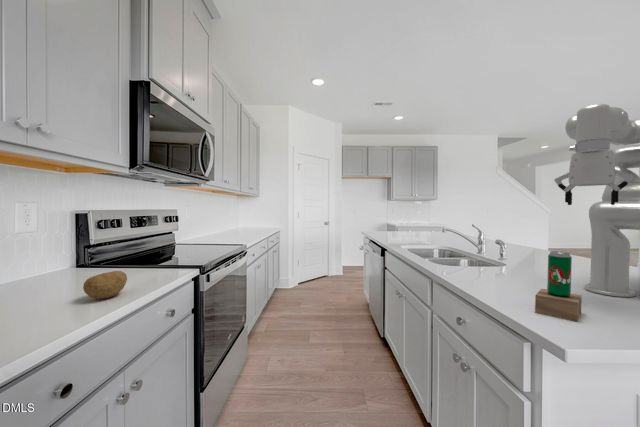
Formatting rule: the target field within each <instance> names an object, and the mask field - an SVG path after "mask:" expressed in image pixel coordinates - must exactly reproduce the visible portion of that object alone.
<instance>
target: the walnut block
mask: <svg viewBox="0 0 640 427" xmlns="http://www.w3.org/2000/svg"><path fill="white" fill-rule="evenodd" d="M582 296H583V295H582V294H576V293H571V295H570V296H569V297H558V296H553V295H551V294H549V293H548V292H547V289H546V288H541V289H540V290H539V291H537V293H536V294H535V300H534V303H535V305H534V313H535V314H540V315H546V316H549V317H554V318H558V319H564V320H568V321H572V322H579V319H580V317H581V314H582V301H583V298H582Z"/></svg>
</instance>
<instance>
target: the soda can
mask: <svg viewBox="0 0 640 427" xmlns="http://www.w3.org/2000/svg"><path fill="white" fill-rule="evenodd" d="M570 254H571V253H570V252H567V251H560V250H559V251H557V250H551V251H549V254H547V255H548V256H547V286H546V287H547V292H548V293H549V294H551V295H553V296H558V297H569V296H570V295H571V294H572V293H571V292H572V264H573V263H572V261H573V260H572V257H573V256H571V255H570Z"/></svg>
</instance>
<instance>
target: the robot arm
mask: <svg viewBox="0 0 640 427" xmlns="http://www.w3.org/2000/svg"><path fill="white" fill-rule="evenodd" d="M565 133H566V135H567V137H569V138H570V139H571V140H573V141H575V144H574V145H571V146H569V151H570V152H571V151H573V153H572V154H571V157H570V162H569V168H568V172H567V173H565V174H563V175H561V176H558V177H556V178H554V182H555V183H556V185H557V186H558V188H560V189H561V190H562V191H563V192H564V193H565V194H564V202H565V203H567V206H571V205H572V204H573V193H572V190H573V189H574V188H575V187H590V186H592V187H593V186H595V187H596V186H605V188H604V191H603V193H602V196H601V201H598V202H595V203H592V205H590V207H589V209H588V217H589V222H590V231H591V243H590V244H591V247H590V248H591V249H590V273H589V274H590V276H589V277H590V278H589V279H590V280H589V283H586V284H584V285H583V288H584V290H586V291H588V292H591V293H595V294H599V295H606V296H610V297H620V298H633V297H635V296H636V292H635V291H634V290H632V289H630V288H629V284H630V282H629V281H630V262H631V261H630V259H631V256H630V255H631V242H630V240H629V238H628V237H627V236H626V234H624V233H623V232H622V231H621V230H629V231H630V230H631V231H633V230H634V231H640V176H639V175H638V174H637V173H636V172H634V171H632V170H631V169H636V168H639V169H640V118H637V119H632V120H630V119H629V115H628V112H627V111H626V110H624V109H623V108H622V107H618V106H617V107H616V106H615V107H614V106H610V105H609V104H606V103H598V104H591V105H587V106H584V107H581V108H579V110H578V111H577V112H576V115H572V116H571V117H569V118H568V119H567V121H566V123H565ZM611 144H612V145H614V146H619V147H616V148H612V149H611ZM566 179H568V185H567V186H566V185H564V183H563V182H562V181H565V180H566Z"/></svg>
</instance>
